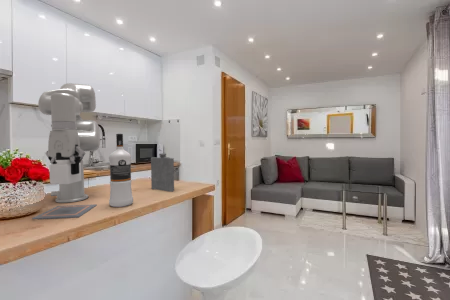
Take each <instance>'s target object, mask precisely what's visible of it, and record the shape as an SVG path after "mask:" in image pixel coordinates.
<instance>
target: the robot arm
mask: <svg viewBox="0 0 450 300" xmlns="http://www.w3.org/2000/svg"><path fill="white" fill-rule="evenodd" d="M96 103H97V102H96V93H95V90H94V88H93V87H92V85H89V84H80V83H71V82H70V83H69V82H68V83H64V84H63V85H62V86H60V88H57V89H53V90H46V91H43V92H42V93H41V95H40V96H39V99H38V103H37V105H38V106H37V107H38V109H39V111H40V112H41V114H43V115H46V116H47V115H48V116H51V118H50V119H51V124H50V127H51V130H49V131H50V132H49V133H48V146H47V150H46V152H45V155H46V157H47V158H48V160H49V162H50V165H51V164H57V162H56V159H55V157H56V153H58V152H59V153H61V155H62V157H69V158H70V160H71V162H72V163H73V164H71V174H72V175H74V174H79V163H81V181H78V182H74V183H70V184H58V187H59V188H58V190H53V191H51V192H50V196H51V197H56V198H55V203H59V204H60V203H61V204H62V203H63V204H65V203H73V202H74V203H76V202H81V201H83V200H87V199H88V198H89V195H88V194H86V193H85V176H84V175H85V174H84V173H85V172H84V161H83V159H84V157H85V156H86V152H95V151H98V150H99V149H100V146H101V138H100V127H99V124H98V122H97V121H95V120H93V119H83V118H82V116H81V113H93V112H94V111H95V110H96V107H97V106H96V105H97V104H96ZM74 158H75V159H74Z"/></svg>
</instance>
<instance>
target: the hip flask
mask: <svg viewBox="0 0 450 300" xmlns="http://www.w3.org/2000/svg"><path fill="white" fill-rule="evenodd" d="M174 159H175V158H173V157H167V153H159V157H155V156H154V157H150V176H151V177H150V178H151V179H150V180H151V182H150V184H151V185H150V186H151V190H156V191H157V190H158V191H164V192H170V193H172V192H175V166H174V165H175V160H174Z"/></svg>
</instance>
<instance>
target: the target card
mask: <svg viewBox="0 0 450 300" xmlns="http://www.w3.org/2000/svg"><path fill="white" fill-rule="evenodd" d="M97 205H98V204H74V205H72V204H71V205H57V206H54V207H53V208H50V209H48V210H46V211H44V212H42V213H41V214H38V215H36V216H33V217H32V218H31V220H32V219H38V220H52V219H53V220H54V219H55V220H57V219H74V218H76V219H77V218H80V217H82V216H83V215H85V214H86V213H88V212H90V211H91V210H92V209H94V208H96V207H97Z"/></svg>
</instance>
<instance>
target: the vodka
mask: <svg viewBox="0 0 450 300" xmlns="http://www.w3.org/2000/svg"><path fill="white" fill-rule="evenodd" d="M115 135H116V136H115V137H116V141H115V142H116V149H115V150H114V151H112V152H111V153H109V156H108V160H109V177H110V179H109V180H110V181H109V183H110V184H109V185H110V191H109V199H108V204H109V206H111V207H112V208H121V207H127V206H130V205H132V204H133V203H134V197H133V191H132V166H131V164H132V161H131V160H132V156H131V153H130V152H128V151H127V150H125V149H124V135H123V133H116V134H115Z"/></svg>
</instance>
